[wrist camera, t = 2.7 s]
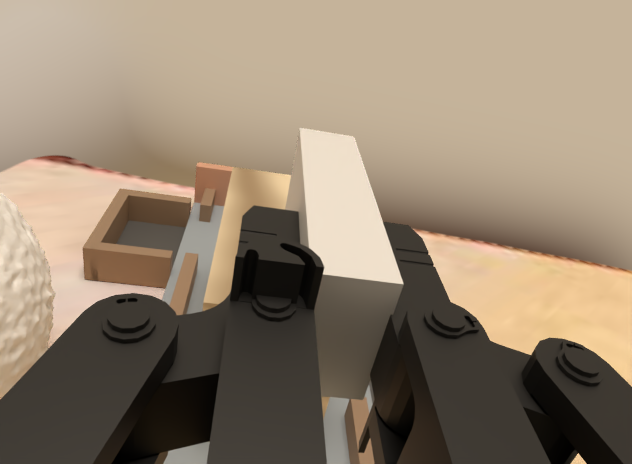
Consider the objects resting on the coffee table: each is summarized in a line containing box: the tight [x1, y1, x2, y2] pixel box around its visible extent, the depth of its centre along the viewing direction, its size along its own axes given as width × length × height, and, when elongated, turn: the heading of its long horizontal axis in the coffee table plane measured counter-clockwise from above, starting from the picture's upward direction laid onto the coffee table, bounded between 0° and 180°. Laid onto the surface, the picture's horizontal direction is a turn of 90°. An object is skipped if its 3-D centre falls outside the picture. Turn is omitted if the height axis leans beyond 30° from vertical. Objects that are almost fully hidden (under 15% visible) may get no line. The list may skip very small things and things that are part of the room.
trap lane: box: [83, 162, 375, 464], centre depth 38 cm, size 28×32×5 cm
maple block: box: [203, 167, 330, 442], centre depth 32 cm, size 7×15×10 cm, turn 2°
